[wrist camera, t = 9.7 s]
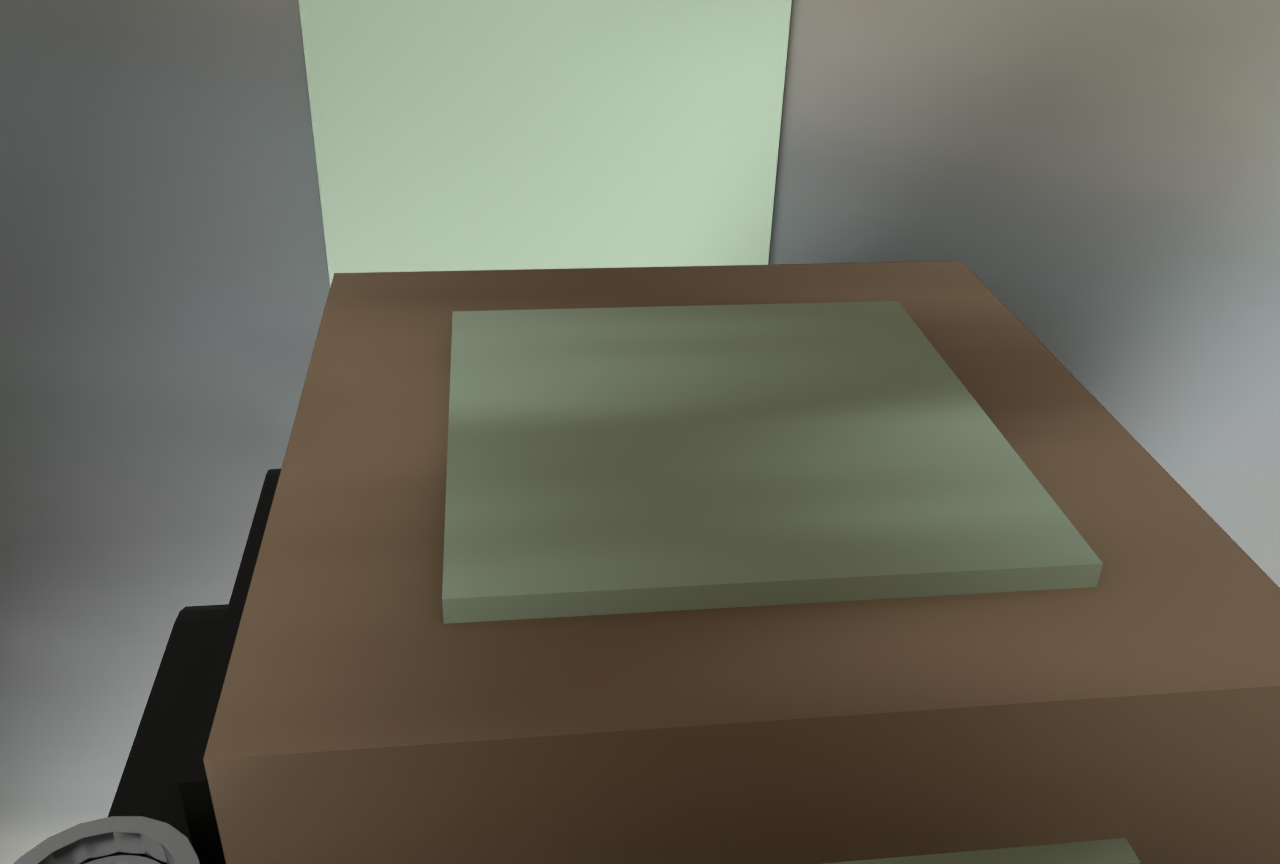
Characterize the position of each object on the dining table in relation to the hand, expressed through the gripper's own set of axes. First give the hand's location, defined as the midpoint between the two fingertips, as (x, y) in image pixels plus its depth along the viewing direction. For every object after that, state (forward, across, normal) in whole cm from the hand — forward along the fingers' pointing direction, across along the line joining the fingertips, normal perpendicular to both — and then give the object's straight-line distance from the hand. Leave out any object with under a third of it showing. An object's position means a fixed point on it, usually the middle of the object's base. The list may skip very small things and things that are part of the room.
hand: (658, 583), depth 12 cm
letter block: (+1, 0, 0) cm, 1 cm away
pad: (+13, 0, 0) cm, 13 cm away
